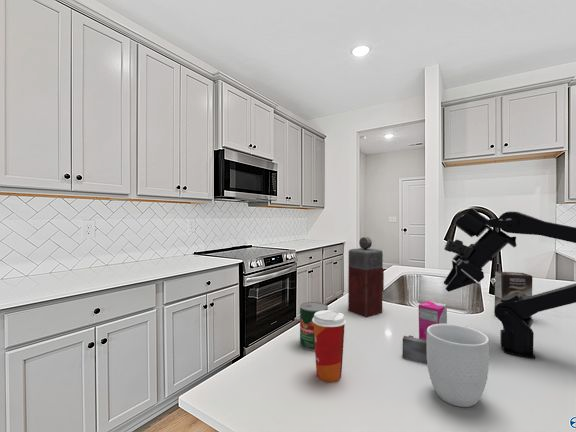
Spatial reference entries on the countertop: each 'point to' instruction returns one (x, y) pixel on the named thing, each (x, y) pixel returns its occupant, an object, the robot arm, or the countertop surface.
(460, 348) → the mug
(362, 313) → the pepper mill
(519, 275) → the coffee box
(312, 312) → the canned tomato
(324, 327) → the paper cup
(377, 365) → the countertop surface
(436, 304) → the supplement box
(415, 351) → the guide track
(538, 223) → the robot arm
